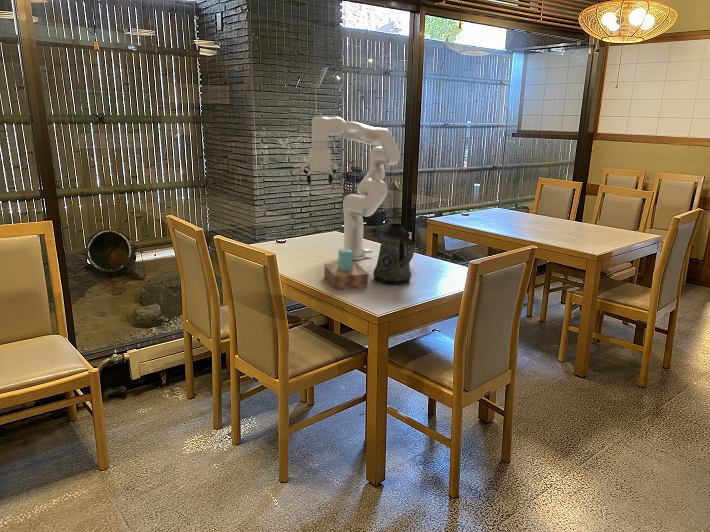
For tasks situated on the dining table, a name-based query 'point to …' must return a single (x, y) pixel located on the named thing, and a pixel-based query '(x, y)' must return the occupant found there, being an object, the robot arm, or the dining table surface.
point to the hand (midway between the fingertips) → (319, 183)
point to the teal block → (345, 259)
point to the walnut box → (346, 276)
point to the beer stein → (394, 256)
